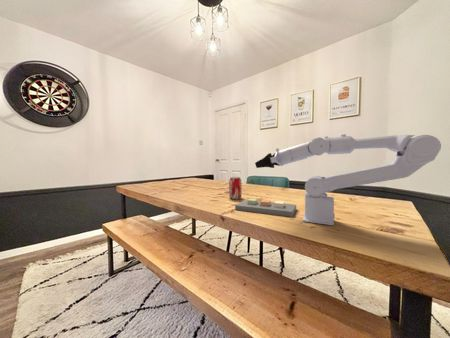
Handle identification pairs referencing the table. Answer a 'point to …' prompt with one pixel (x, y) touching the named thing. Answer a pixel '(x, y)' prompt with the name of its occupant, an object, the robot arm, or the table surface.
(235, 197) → the soda can
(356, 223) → the table surface
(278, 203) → the cream key
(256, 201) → the sage key
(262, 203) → the terracotta key
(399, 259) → the table surface
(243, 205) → the key board
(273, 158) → the robot arm
